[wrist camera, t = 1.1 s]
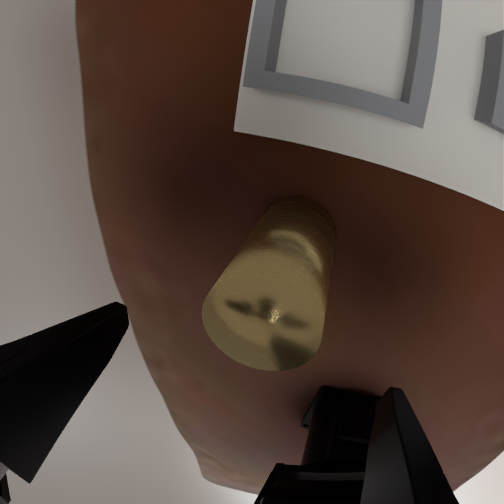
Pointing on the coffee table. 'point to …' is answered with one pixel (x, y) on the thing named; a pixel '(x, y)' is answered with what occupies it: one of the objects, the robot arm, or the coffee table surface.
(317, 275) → the gold metallic cylinder
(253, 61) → the white socket board
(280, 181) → the coffee table surface
